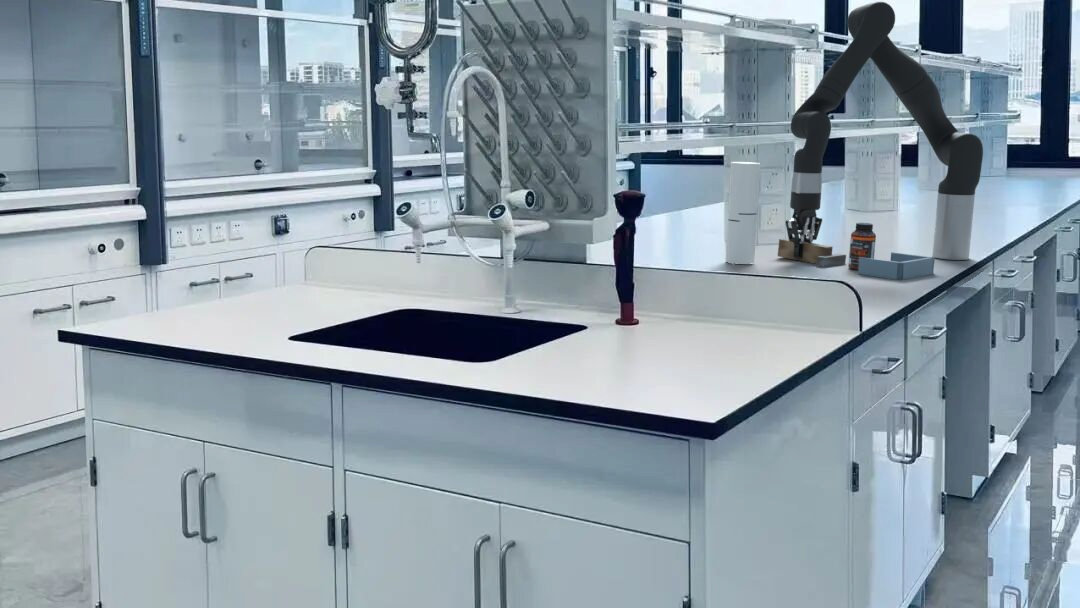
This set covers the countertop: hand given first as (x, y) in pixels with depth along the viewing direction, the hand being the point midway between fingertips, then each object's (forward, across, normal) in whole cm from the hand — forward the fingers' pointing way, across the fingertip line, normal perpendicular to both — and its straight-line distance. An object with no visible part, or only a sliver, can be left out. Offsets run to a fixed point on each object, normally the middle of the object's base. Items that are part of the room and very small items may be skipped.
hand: (801, 257), depth 288 cm
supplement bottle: (+1, 0, +17) cm, 17 cm away
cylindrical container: (+1, +17, -7) cm, 18 cm away
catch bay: (+1, 0, +26) cm, 26 cm away
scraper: (+1, 0, +1) cm, 1 cm away
